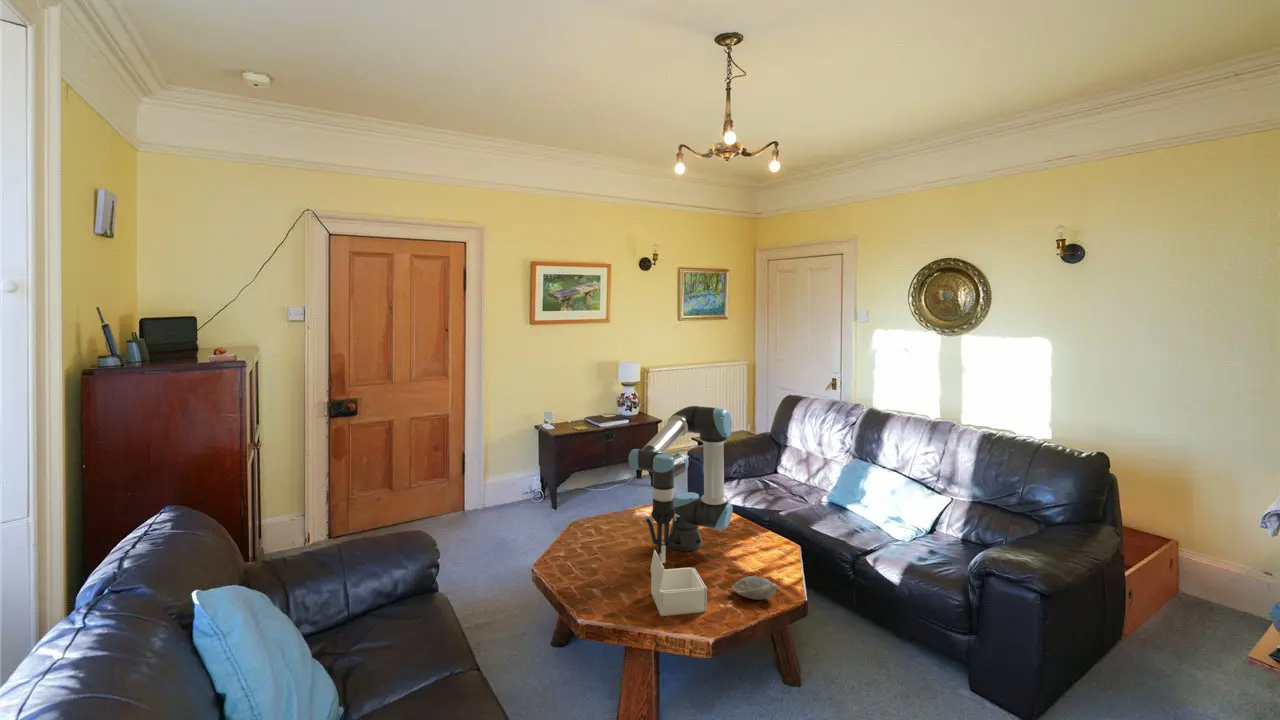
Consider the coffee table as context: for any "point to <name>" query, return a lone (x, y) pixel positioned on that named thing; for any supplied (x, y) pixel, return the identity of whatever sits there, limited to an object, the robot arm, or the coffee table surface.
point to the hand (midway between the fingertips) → (662, 561)
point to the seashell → (755, 588)
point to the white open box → (679, 592)
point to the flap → (657, 569)
